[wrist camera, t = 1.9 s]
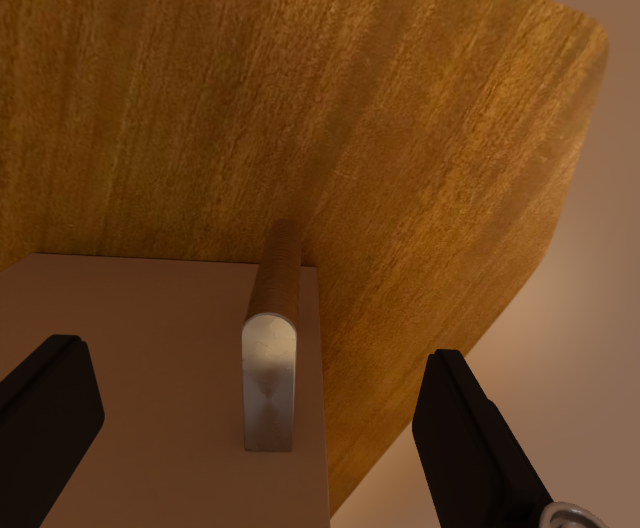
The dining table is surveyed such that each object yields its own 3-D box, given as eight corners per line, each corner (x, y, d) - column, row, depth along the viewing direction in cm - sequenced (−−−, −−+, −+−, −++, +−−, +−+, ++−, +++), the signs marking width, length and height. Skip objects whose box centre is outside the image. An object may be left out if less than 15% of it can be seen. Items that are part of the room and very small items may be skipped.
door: (6, 168, 27) (-1087, 453, 6) (323, 187, 29) (366, 476, 7) (35, 263, 31) (-588, 660, 9) (316, 276, 32) (332, 649, 11)
